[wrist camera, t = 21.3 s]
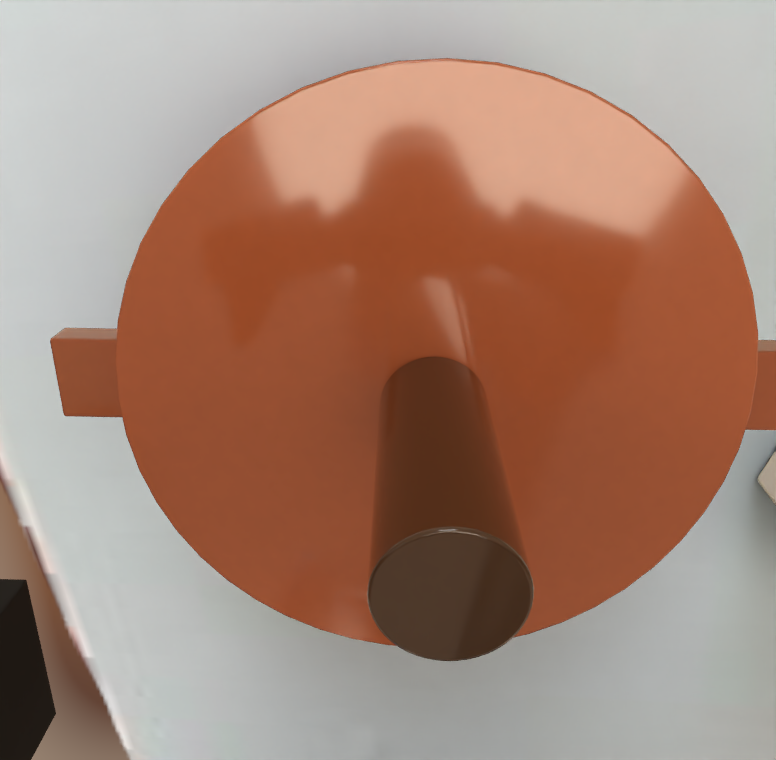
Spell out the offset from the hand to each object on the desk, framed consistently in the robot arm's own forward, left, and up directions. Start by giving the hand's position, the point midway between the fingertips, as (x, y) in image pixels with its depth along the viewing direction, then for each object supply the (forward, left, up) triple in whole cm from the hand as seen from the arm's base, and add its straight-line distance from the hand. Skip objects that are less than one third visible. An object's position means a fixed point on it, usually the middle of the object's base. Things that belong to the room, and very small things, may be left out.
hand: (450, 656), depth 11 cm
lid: (0, 0, -9) cm, 9 cm away
